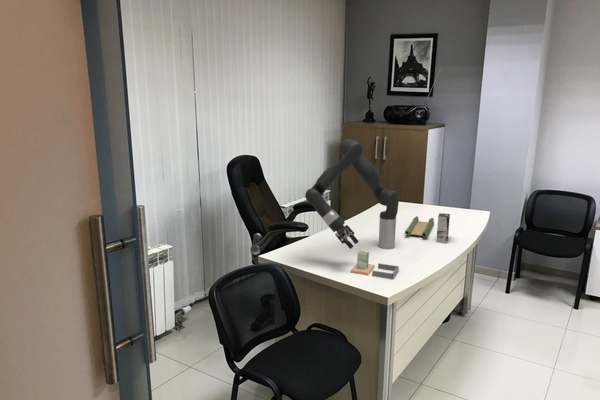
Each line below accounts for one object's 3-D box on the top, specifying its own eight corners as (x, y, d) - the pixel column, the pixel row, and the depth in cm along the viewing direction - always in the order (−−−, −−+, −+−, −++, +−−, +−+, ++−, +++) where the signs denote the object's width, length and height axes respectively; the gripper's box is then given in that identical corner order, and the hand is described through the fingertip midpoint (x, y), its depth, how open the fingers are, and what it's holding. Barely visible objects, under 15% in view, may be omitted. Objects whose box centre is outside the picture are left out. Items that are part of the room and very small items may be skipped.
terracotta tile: (357, 264, 233) (357, 262, 233) (374, 267, 229) (374, 264, 229) (350, 272, 222) (350, 270, 222) (368, 275, 219) (368, 273, 219)
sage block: (359, 265, 229) (360, 250, 227) (368, 266, 227) (368, 251, 225) (356, 268, 225) (357, 253, 223) (365, 269, 223) (366, 254, 221)
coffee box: (447, 243, 267) (449, 217, 264) (436, 242, 270) (437, 216, 266) (448, 239, 275) (450, 213, 272) (437, 238, 278) (439, 212, 274)
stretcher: (427, 241, 272) (427, 233, 271) (403, 238, 278) (403, 230, 277) (435, 224, 309) (435, 217, 308) (413, 222, 314) (414, 215, 313)
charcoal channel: (378, 267, 228) (378, 263, 228) (398, 271, 224) (398, 266, 224) (372, 275, 218) (372, 271, 218) (393, 279, 214) (393, 274, 213)
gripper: (333, 219, 219) (355, 245, 217) (343, 212, 232) (364, 237, 230) (323, 228, 222) (344, 254, 220) (333, 221, 235) (353, 245, 233)
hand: (354, 245), depth 225 cm, fingers open, 8 cm apart
